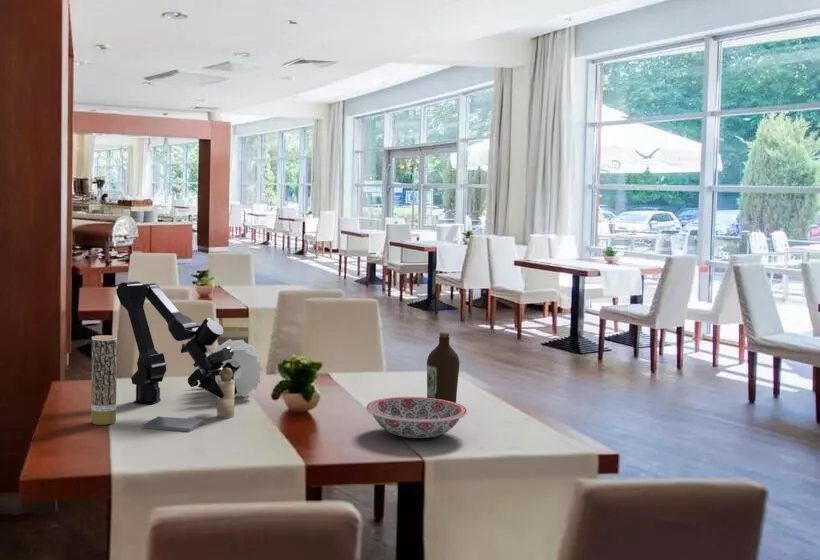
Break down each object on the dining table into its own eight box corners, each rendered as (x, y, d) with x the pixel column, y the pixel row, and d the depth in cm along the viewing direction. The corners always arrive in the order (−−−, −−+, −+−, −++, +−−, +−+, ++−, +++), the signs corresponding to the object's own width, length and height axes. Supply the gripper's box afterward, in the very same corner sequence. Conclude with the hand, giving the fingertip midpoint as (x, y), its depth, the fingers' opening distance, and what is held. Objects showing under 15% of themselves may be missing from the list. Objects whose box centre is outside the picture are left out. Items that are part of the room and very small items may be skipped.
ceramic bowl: (392, 453, 237) (393, 424, 237) (349, 427, 263) (349, 400, 262) (485, 443, 251) (486, 415, 250) (435, 419, 277) (436, 393, 276)
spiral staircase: (245, 396, 316) (248, 409, 291) (199, 375, 312) (198, 386, 287) (268, 350, 317) (273, 359, 292) (223, 328, 313) (224, 335, 289)
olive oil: (448, 404, 298) (452, 330, 296) (463, 411, 288) (466, 335, 286) (419, 405, 294) (422, 330, 291) (433, 413, 284) (436, 335, 282)
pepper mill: (214, 417, 268) (215, 368, 267) (220, 413, 273) (221, 365, 272) (230, 418, 267) (231, 369, 266) (236, 415, 272) (237, 366, 271)
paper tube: (121, 422, 259) (122, 336, 256) (104, 427, 252) (104, 339, 250) (103, 418, 261) (104, 334, 259) (85, 423, 255) (86, 337, 253)
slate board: (142, 428, 253) (142, 424, 253) (158, 419, 263) (158, 416, 263) (189, 431, 251) (189, 428, 251) (203, 423, 261) (203, 420, 260)
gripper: (196, 342, 261) (224, 384, 257) (236, 335, 278) (264, 374, 274) (175, 365, 266) (203, 407, 262) (215, 357, 282) (243, 396, 278)
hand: (229, 395), depth 269 cm, fingers open, 6 cm apart
